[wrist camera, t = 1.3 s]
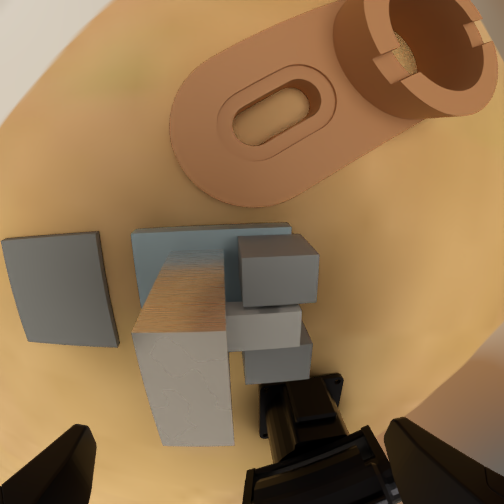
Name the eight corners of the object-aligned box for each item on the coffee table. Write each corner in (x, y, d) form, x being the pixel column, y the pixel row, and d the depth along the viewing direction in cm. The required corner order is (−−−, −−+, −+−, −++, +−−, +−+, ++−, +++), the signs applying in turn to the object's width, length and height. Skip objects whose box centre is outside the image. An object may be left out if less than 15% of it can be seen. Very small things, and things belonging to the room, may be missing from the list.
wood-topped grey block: (228, 337, 19) (234, 445, 11) (180, 339, 19) (163, 445, 11) (223, 248, 18) (226, 330, 10) (169, 250, 17) (131, 332, 9)
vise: (291, 337, 21) (310, 388, 16) (153, 343, 20) (137, 395, 15) (295, 222, 19) (322, 248, 14) (136, 228, 18) (106, 257, 13)
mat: (119, 342, 20) (117, 347, 20) (31, 337, 20) (28, 341, 19) (98, 231, 18) (95, 233, 17) (5, 238, 17) (0, 240, 17)
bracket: (387, -4, 15) (441, -43, 8) (446, 96, 17) (515, 88, 11) (150, 110, 16) (111, 88, 10) (228, 226, 19) (231, 266, 12)
